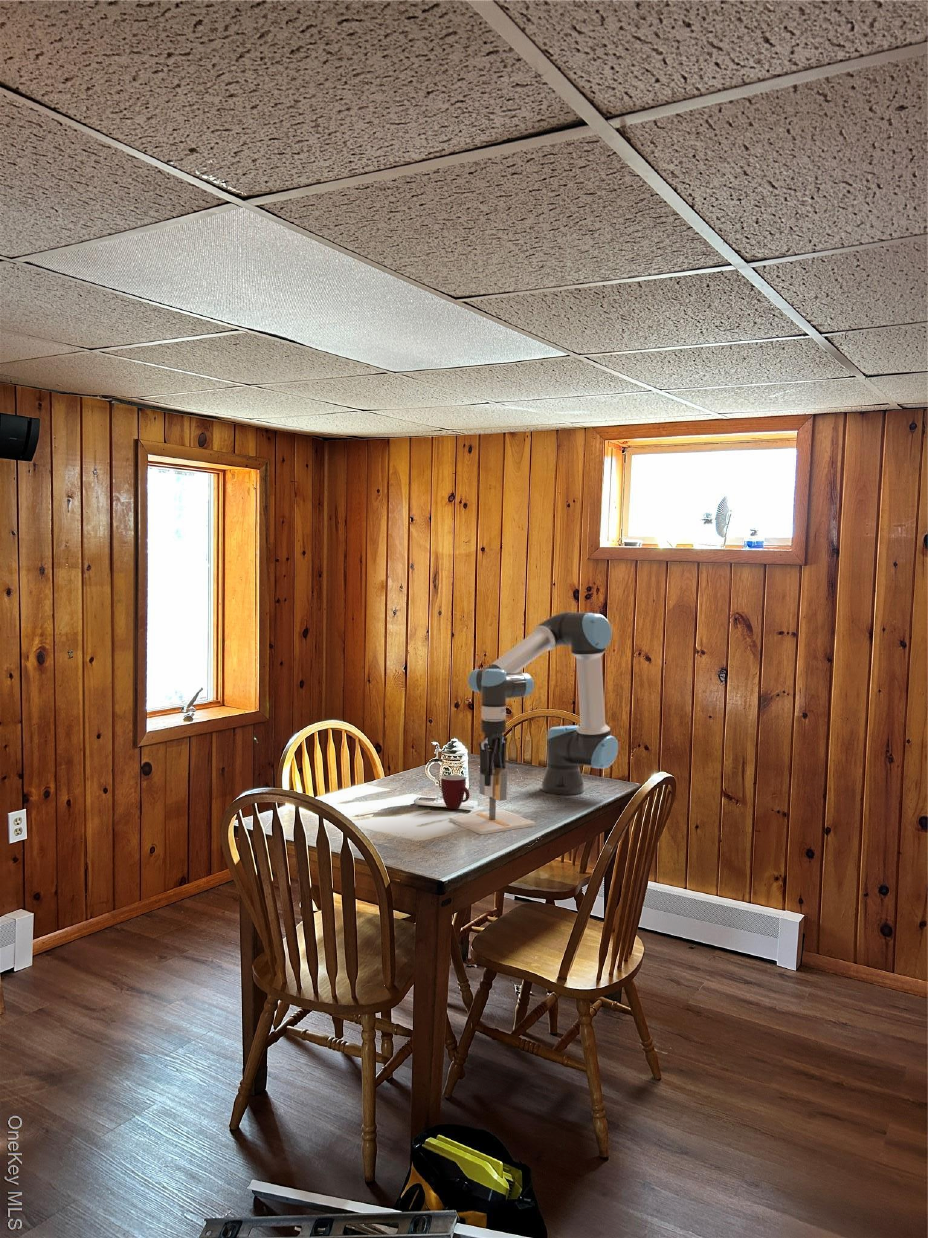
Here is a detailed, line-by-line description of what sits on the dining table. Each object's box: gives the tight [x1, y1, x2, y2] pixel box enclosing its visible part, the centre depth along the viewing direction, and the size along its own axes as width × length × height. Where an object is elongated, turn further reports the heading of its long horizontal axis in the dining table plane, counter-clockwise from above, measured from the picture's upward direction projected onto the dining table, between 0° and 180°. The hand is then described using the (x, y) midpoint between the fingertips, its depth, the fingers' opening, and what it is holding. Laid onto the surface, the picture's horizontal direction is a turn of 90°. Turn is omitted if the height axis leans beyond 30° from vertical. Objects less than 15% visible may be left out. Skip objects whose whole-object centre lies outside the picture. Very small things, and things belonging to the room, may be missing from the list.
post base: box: [449, 797, 537, 835], centre depth 282 cm, size 20×18×8 cm
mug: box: [440, 774, 470, 810], centre depth 300 cm, size 11×8×10 cm
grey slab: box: [478, 765, 508, 802], centre depth 282 cm, size 11×3×9 cm, turn 34°
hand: (492, 794), depth 282 cm, fingers closed on grey slab, 4 cm apart
